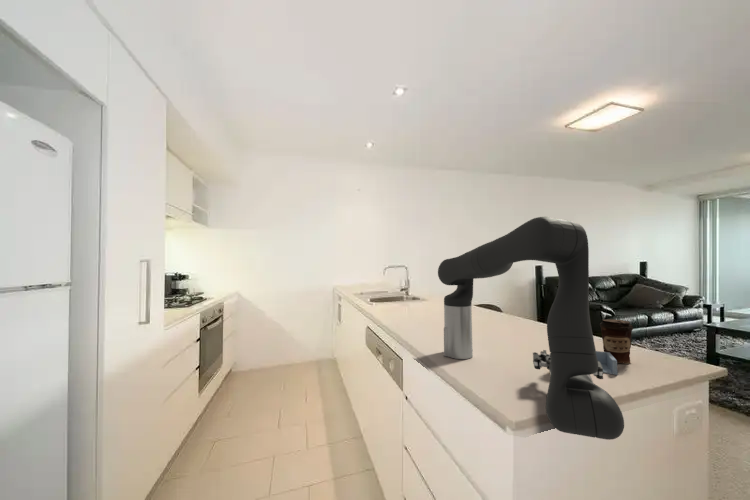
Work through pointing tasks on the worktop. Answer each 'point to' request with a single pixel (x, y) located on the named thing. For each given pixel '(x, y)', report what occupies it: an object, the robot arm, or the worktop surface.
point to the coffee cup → (617, 339)
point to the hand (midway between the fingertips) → (562, 356)
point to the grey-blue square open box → (607, 362)
